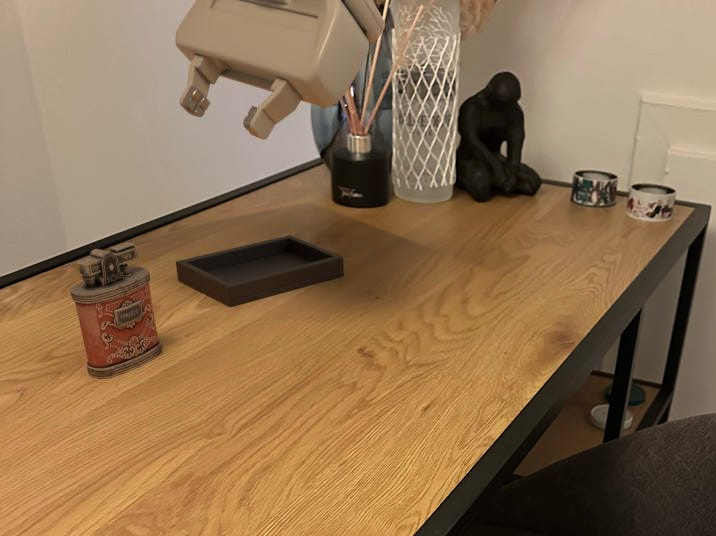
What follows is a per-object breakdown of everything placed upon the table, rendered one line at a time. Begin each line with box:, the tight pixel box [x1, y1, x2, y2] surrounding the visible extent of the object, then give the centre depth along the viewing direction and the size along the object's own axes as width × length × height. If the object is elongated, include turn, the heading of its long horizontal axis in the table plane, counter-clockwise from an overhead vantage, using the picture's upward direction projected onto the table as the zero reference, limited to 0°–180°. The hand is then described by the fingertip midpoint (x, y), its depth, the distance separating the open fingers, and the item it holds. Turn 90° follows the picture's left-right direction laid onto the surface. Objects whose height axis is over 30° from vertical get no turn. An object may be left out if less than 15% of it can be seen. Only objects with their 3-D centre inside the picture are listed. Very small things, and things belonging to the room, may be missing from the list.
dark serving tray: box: [175, 234, 345, 308], centre depth 104 cm, size 10×16×2 cm, turn 137°
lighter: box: [69, 241, 163, 379], centre depth 83 cm, size 8×3×10 cm, turn 152°
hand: (220, 121), depth 82 cm, fingers open, 8 cm apart
